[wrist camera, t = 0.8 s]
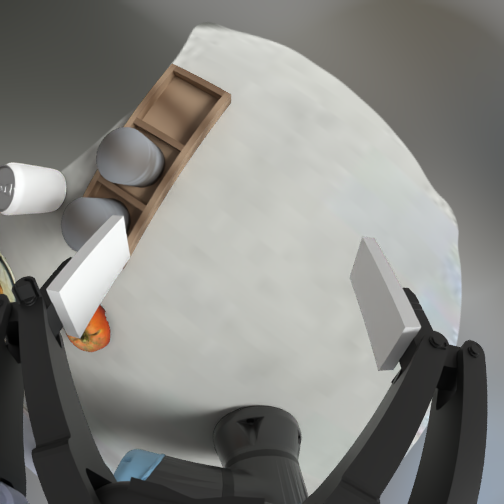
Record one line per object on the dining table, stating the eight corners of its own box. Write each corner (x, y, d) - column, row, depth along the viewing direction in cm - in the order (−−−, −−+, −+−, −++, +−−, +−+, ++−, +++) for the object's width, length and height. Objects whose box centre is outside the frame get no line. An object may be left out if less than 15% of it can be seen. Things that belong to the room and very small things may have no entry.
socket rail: (124, 268, 37) (96, 284, 28) (75, 231, 35) (40, 239, 26) (231, 102, 34) (231, 73, 25) (175, 72, 33) (162, 41, 24)
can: (41, 167, 33) (-10, 160, 21) (71, 171, 34) (21, 162, 22) (34, 209, 34) (-17, 212, 22) (64, 215, 35) (13, 220, 23)
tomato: (89, 363, 37) (58, 351, 31) (80, 327, 41) (51, 311, 34) (125, 341, 38) (96, 325, 32) (113, 304, 42) (86, 285, 36)
